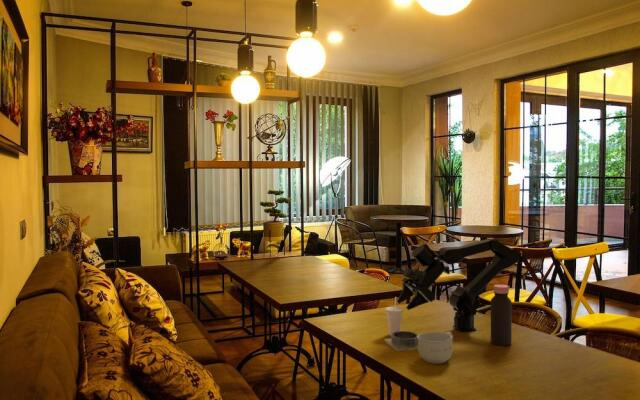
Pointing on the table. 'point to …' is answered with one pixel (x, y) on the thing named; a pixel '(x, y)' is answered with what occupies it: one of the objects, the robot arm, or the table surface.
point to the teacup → (435, 346)
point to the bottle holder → (403, 340)
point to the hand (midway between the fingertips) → (402, 305)
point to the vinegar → (501, 316)
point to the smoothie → (394, 318)
